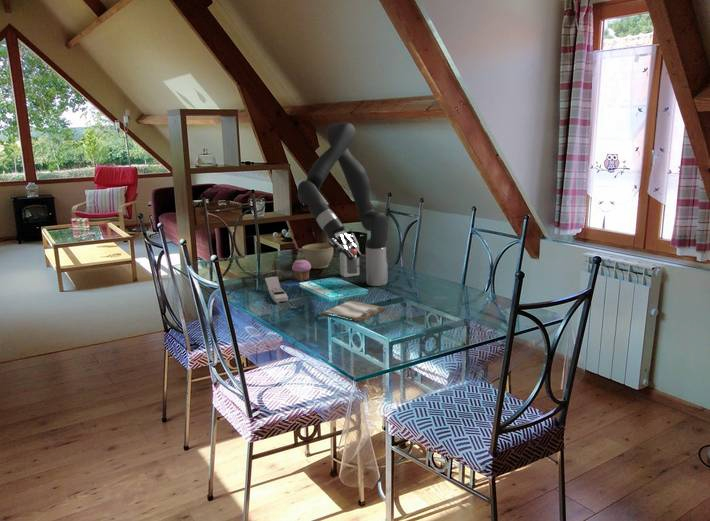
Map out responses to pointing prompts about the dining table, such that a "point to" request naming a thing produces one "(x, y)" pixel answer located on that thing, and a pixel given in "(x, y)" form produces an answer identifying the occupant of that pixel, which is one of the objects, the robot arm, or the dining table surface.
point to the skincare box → (344, 265)
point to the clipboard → (355, 310)
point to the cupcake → (301, 269)
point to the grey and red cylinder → (352, 262)
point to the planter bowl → (318, 255)
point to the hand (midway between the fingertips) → (355, 257)
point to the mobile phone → (275, 290)
